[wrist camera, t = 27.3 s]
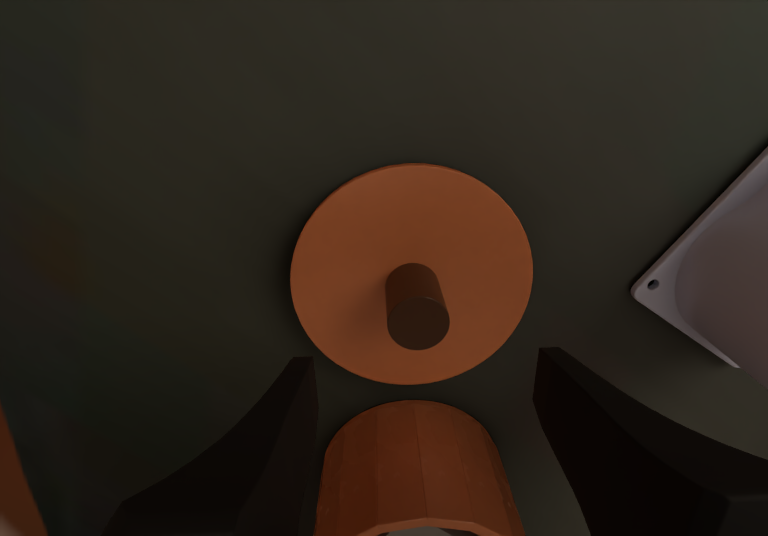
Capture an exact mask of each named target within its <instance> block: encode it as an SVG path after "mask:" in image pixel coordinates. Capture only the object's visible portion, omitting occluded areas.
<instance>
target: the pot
mask: <svg viewBox="0 0 768 536" xmlns="http://www.w3.org/2000/svg"><path fill="white" fill-rule="evenodd" d="M424 526H430V527H439V528H447V529H456V530H465V531H471V532H473V533H475V534H477V535H480V536H526V535H525V532H524V529H523V526H522V523H521V520H520V517H519V514H518V511H517V508H516V505H515V502H514V499H513V496H512V493H511V490H510V486H509V483H508V480H507V477H506V474H505V471H504V468H503V465H502V462H501V459H500V456H499V453H498V450H497V447H496V446H495V444H494V443H493V441H492V438H491V437H490V435H489V434H488V432H487V431H486V430H485V428H484V427H483V426H482V425H481V424H480V423H479V422H478V421H477V420H475V419H474V418H473V417H472V416H470V415H468V414H467V413H465V412H463V411H461V410H459V409H457V408H455V407H452V406H449V405H446V404H443V403H438V402H433V401H426V400H403V401H395V402H390V403H386V404H382V405H379V406H376V407H373V408H370V409H368V410H366V411H364V412H362V413H360V414H359V415H357V416H355V417H354V418H352V419H351V420H350V421H348V422H347V423H346V424H345V425H343V426H342V428H341V429H340V430H339V431H338V432H337V433H336V434H335V436H334V437H333V439H332V440H331V442H330V444H329V446H328V448H327V450H326V453H325V457H324V464H323V469H322V474H321V481H320V489H319V497H318V505H317V513H316V521H315V529H314V536H377V535H379V534H381V533H386V532H392V531H398V530H405V529H411V528H417V527H424Z"/></svg>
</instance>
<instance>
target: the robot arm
mask: <svg viewBox="0 0 768 536" xmlns="http://www.w3.org/2000/svg"><path fill="white" fill-rule="evenodd" d="M652 280H654V282H653V284H652V285H650V286H648V283H649V282H650V281H652ZM631 295H632V296H633V298H635V299H636V300H637V301H638V302H640V303H641V304H643V305H644V306H646V307H647V308H648V309H650V310H651V311H653V312H654V313H656V314H657V315H659V316H660V317H662V318H663V319H664V320H666V321H667V322H669V323H670V324H672V325H673V326H675V327H676V328H678V329H679V330H680V331H682V332H683V333H685V334H686V335H688V336H689V337H691V338H692V339H693V340H695V341H696V342H698V343H699V344H701V345H702V346H704V347H705V348H707V349H708V350H709V351H711V352H712V353H714V354H715V355H717V356H718V357H720V358H721V359H723V360H724V361H725V362H727V363H728V364H730V365H731V366H733V367H735V368H742V369H743V370H744V371H745V372H747V373H748V374H749V375H750V376H751V377H753V378H754V379H755V380H756V381H758V382H759V383H760V384H761V385H762V386H764V387H765V388H766V389H767V390H768V147H767V148H766V149H765V150H764V151H763V152H762V153H761V154H760V155H759V156H758V157H757V158H756V159H755V160H754V161H753V162H752V163H751V164H750V165H749V166H748V167H747V169H746V170H745V171H744V172H743V173H742V174H741V175H740V176H739V177H738V178H737V179H736V180H735V181H734V182H733V183H732V184H731V185H730V186H729V187H728V188H727V189H726V190H725V191H724V192H723V193H722V194H721V195H720V196H719V197H718V198H717V199H716V200H715V201H714V202H713V204H712V205H711V206H710V207H709V208H708V209H707V210H706V211H705V212H704V213H703V214H702V215H701V216H700V217H699V218H698V219H697V220H696V221H695V222H694V223H693V224H692V225H691V226H690V227H689V228H688V229H687V230H686V231H685V232H684V233H683V234H682V235H681V236H680V237H679V239H678V240H677V241H676V242H675V243H674V244H673V245H672V246H671V247H670V248H669V249H668V250H667V251H666V252H665V253H664V254H663V255H662V256H661V257H660V258H659V259H658V260H657V261H656V262H655V263H654V264H653V265H652V266H651V267H650V268H649V269H648V270H647V271H646V273H645V274H644V275H643V276H642V277H641V278H640V279H639V280H638V281H637V282H636V283H635V284H634V285H633V286H632V288H631ZM533 402H534V406H535V409H536V412H537V415H538V418H539V421H540V423H541V426H542V429H543V431H544V433H545V435H546V437H547V439H548V441H549V443H550V445H551V447H552V449H553V451H554V453H555V455H556V457H557V459H558V461H559V463H560V465H561V467H562V469H563V471H564V473H565V475H566V477H567V479H568V481H569V483H570V485H571V487H572V489H573V491H574V494H575V496H576V498H577V500H578V503H579V505H580V507H581V510H582V513H583V515H584V518H585V521H586V523H587V526H588V528H589V531H590V534H591V536H768V460H766V459H763V458H760V457H757V456H755V455H752V454H749V453H747V452H744V451H741V450H739V449H736V448H733V447H730V446H728V445H726V444H723V443H721V442H718V441H716V440H713V439H711V438H709V437H707V436H704V435H702V434H700V433H698V432H695V431H693V430H691V429H689V428H687V427H685V426H683V425H681V424H678V423H676V422H674V421H673V420H671V419H669V418H667V417H665V416H663V415H661V414H659V413H658V412H656V411H654V410H652V409H650V408H648V407H647V406H645V405H643V404H642V403H640V402H638V401H637V400H635V399H634V398H632V397H630V396H629V395H627V394H625V393H624V392H622V391H621V390H619V389H618V388H616V387H615V386H613V385H612V384H610V383H609V382H607V381H606V380H604V379H603V378H602V377H600V376H599V375H597V374H596V373H594V372H593V371H592V370H590V369H589V368H588V367H586V366H585V365H583V364H582V363H581V362H579V361H578V360H576V359H575V358H574V357H572V356H571V355H569V354H568V353H567V352H565V351H564V350H562V349H561V348H559V347H550V348H539V354H538V362H537V369H536V377H535V384H534V392H533ZM318 409H319V407H318V398H317V388H316V379H315V370H314V361H313V356H310V357H293V358H292V359H291V360H290V362H289V363H288V365H287V366H286V367H285V369H284V370H283V371H282V373H281V374H280V375H279V377H278V378H277V379H276V381H275V382H274V383H273V384H272V386H271V387H270V388H269V389H268V390H267V392H266V393H265V394H264V395H263V396H262V398H261V399H260V400H259V401H258V402H257V403H256V404H255V405H254V407H253V408H252V409H251V410H250V411H249V412H248V413H247V414H246V415H245V416H244V417H243V418H242V419H241V420H240V421H239V422H238V423H237V424H236V425H235V426H234V427H233V428H232V429H231V430H230V431H229V432H228V433H226V434H225V435H224V436H223V437H222V438H221V439H220V440H218V441H217V442H216V443H214V444H213V445H212V446H211V447H209V448H208V449H207V450H205V451H204V452H203V453H201V454H200V455H199V456H198V457H196V458H195V459H193V460H192V461H191V462H189V463H188V464H186V465H185V466H183V467H182V468H180V469H179V470H177V471H176V472H174V473H172V474H171V475H169V476H168V477H166V478H164V479H163V480H161V481H159V482H158V483H156V484H154V485H152V486H150V487H149V488H147V489H145V490H143V491H141V492H139V493H138V494H136V495H134V496H132V497H130V498H128V499H126V500H124V501H122V503H121V504H120V506H119V507H118V509H117V510H116V512H115V513H114V515H113V516H112V517H111V519H110V521H109V522H108V524H107V526H106V527H105V529H104V531H103V532H102V534H101V536H297V532H298V523H299V515H300V510H301V504H302V499H303V494H304V490H305V485H306V481H307V476H308V472H309V467H310V462H311V458H312V453H313V448H314V444H315V439H316V431H317V420H318Z"/></svg>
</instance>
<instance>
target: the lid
mask: <svg viewBox="0 0 768 536" xmlns="http://www.w3.org/2000/svg"><path fill="white" fill-rule="evenodd" d="M532 280H533V262H532V255H531V249H530V245H529V242H528V239H527V236H526V233H525V231H524V229H523V227H522V225H521V223H520V221H519V219H518V218H517V217H516V215H515V214H514V212H513V211H512V209H511V208H510V207H509V206H508V205H507V204H506V202H505V201H504V200H503V199H502V198H501V197H500V196H499V195H498V194H497V193H495V192H494V191H493V190H492V189H491V188H489V187H488V186H487V185H486V184H484V183H482V182H480V181H479V180H477V179H475V178H474V177H472V176H470V175H468V174H465V173H463V172H460V171H458V170H455V169H451V168H448V167H444V166H440V165H433V164H425V163H405V164H397V165H390V166H386V167H382V168H378V169H375V170H371V171H369V172H367V173H364V174H362V175H359V176H357V177H355V178H353V179H352V180H350V181H348V182H347V183H345V184H343V185H341V186H340V187H339V188H338V189H336V190H335V191H334V192H332V193H331V194H330V195H329V196H328V197H327V198H326V199H325V200H324V201H323V202H322V203H321V204H320V205H319V206H318V207H317V208H316V209H315V211H314V212H313V214H312V215H311V216H310V218H309V219H308V220H307V222H306V224H305V226H304V228H303V230H302V232H301V234H300V236H299V238H298V241H297V244H296V247H295V250H294V253H293V258H292V263H291V272H290V285H291V295H292V300H293V304H294V308H295V311H296V313H297V316H298V318H299V321H300V323H301V324H302V326H303V328H304V330H305V331H306V333H307V335H308V336H309V337H310V339H311V340H312V341H313V343H314V344H315V345H316V346H317V347H318V348H319V349H320V350H321V351H322V352H323V353H324V354H325V355H326V356H327V357H329V358H330V359H331V360H332V361H334V362H335V363H336V364H338V365H340V366H341V367H343V368H345V369H346V370H348V371H350V372H352V373H355V374H357V375H359V376H361V377H364V378H368V379H371V380H374V381H379V382H384V383H389V384H400V385H416V384H425V383H432V382H436V381H440V380H445V379H448V378H451V377H453V376H456V375H459V374H461V373H463V372H465V371H467V370H469V369H472V368H473V367H475V366H476V365H478V364H480V363H481V362H483V361H484V360H486V359H487V358H488V357H489V356H491V355H492V354H493V353H494V352H496V351H497V350H498V349H499V348H500V347H501V346H502V345H503V344H504V343H505V341H506V340H507V339H508V338H509V336H510V335H511V334H512V333H513V331H514V330H515V328H516V326H517V325H518V323H519V322H520V320H521V318H522V316H523V313H524V311H525V309H526V307H527V303H528V300H529V296H530V293H531V287H532Z"/></svg>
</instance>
